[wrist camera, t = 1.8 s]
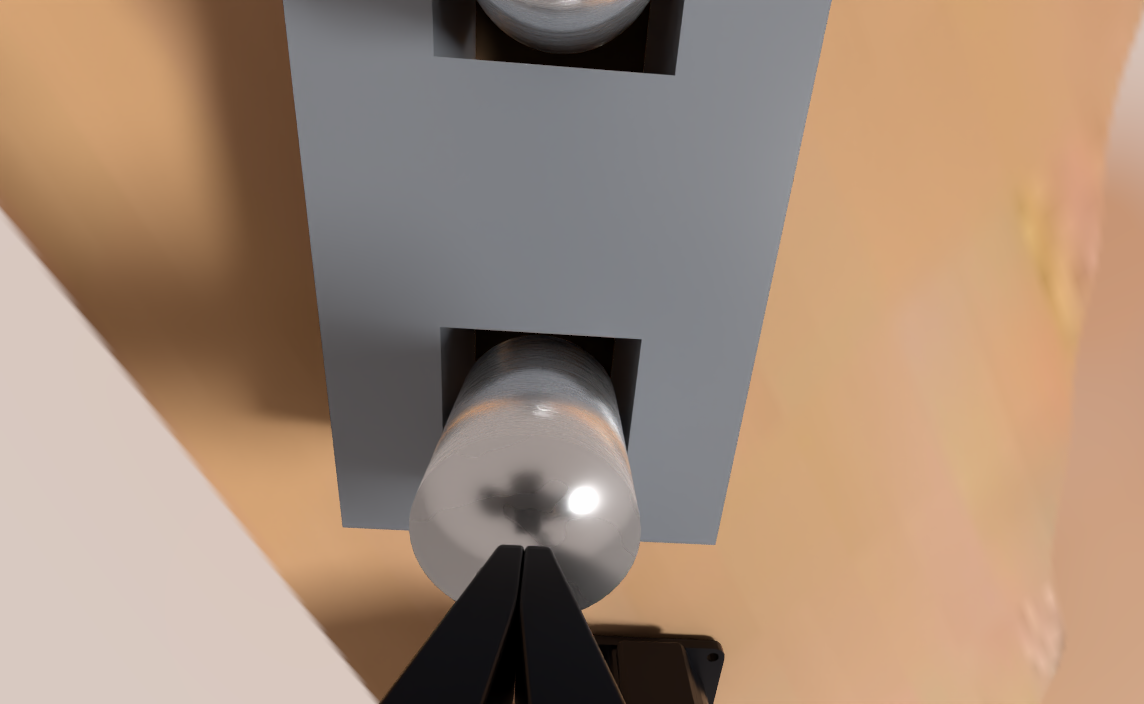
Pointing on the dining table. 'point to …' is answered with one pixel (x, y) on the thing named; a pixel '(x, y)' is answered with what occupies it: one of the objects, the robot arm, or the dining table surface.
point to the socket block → (546, 227)
